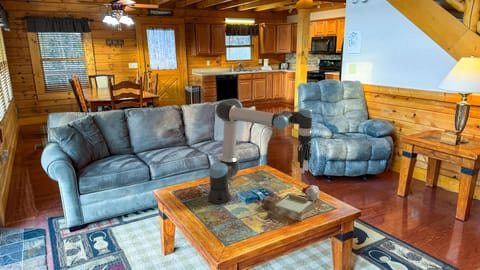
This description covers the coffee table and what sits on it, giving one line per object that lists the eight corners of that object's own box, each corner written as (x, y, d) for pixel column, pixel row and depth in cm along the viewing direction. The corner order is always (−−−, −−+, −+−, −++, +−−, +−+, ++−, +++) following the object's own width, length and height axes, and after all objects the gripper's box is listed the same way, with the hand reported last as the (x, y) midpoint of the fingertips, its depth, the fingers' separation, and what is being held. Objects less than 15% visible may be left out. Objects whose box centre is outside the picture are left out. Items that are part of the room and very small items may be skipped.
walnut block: (263, 207, 201) (263, 198, 200) (268, 204, 206) (268, 195, 204) (271, 210, 198) (271, 201, 196) (276, 206, 202) (276, 197, 201)
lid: (275, 206, 192) (275, 200, 191) (288, 196, 204) (288, 191, 204) (299, 213, 183) (299, 208, 182) (311, 203, 195) (312, 198, 194)
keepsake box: (274, 212, 194) (274, 203, 193) (287, 202, 207) (288, 193, 206) (301, 221, 184) (301, 211, 182) (314, 210, 197) (314, 200, 195)
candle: (317, 203, 204) (297, 199, 215) (326, 197, 212) (306, 194, 223) (316, 190, 203) (296, 186, 213) (325, 184, 211) (305, 181, 221)
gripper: (304, 138, 183) (302, 177, 189) (316, 132, 197) (315, 168, 202) (292, 136, 188) (291, 174, 194) (305, 130, 201) (304, 166, 207)
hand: (303, 171), depth 198 cm, fingers open, 4 cm apart
